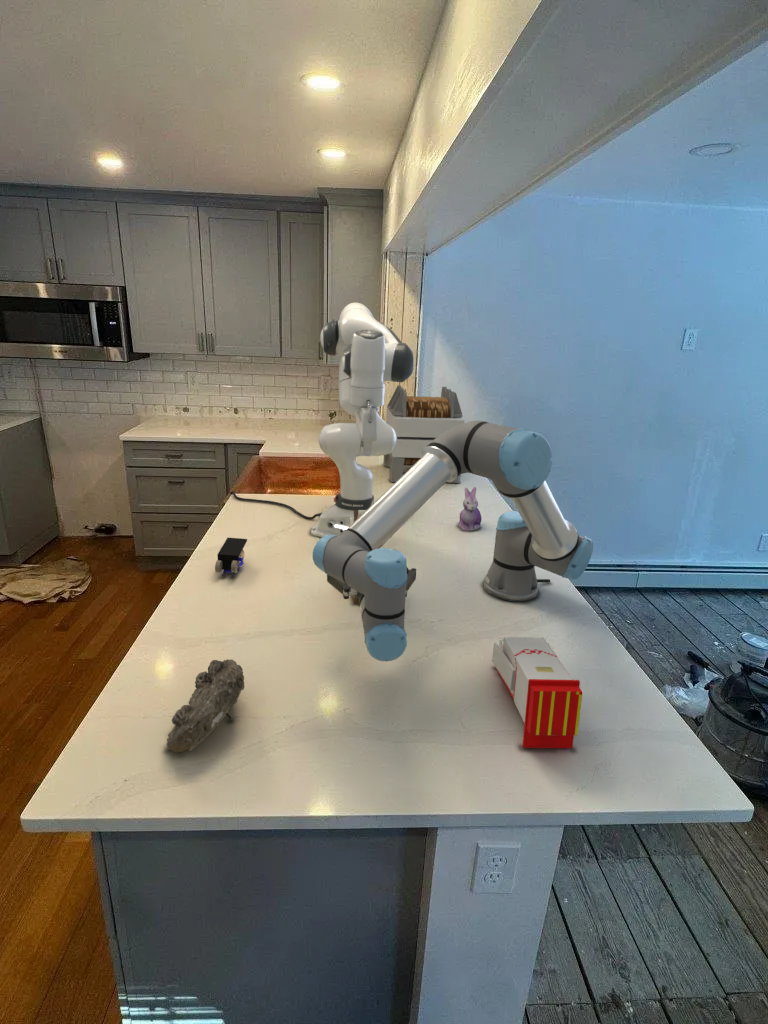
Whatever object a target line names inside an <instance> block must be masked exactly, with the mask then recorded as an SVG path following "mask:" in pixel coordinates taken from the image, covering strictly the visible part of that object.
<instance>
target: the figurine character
mask: <svg viewBox="0 0 768 1024" xmlns="http://www.w3.org/2000/svg"><path fill="white" fill-rule="evenodd" d="M247 542H248V538H240V537H226V539H225V541H224V543H223V544H222V546H221V547H220V549H219V551H218V552H217V560H216V562H215V564H214V572H215V573H221V577H222V578H224V577H225V576H226V574H227V573H230V574H231V573H232V574H231V578H234V577H235V575H236V573H237V572H239V571H240V567H242V566H243V565H244V564H245V562H244V558H245V551H244V547H245V546H246V544H247Z"/></svg>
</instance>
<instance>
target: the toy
mask: <svg viewBox="0 0 768 1024" xmlns="http://www.w3.org/2000/svg"><path fill="white" fill-rule="evenodd" d="M491 662H492V663H493V665H494V667H495V669H496V671H497V673H498V675H499V676H500V678H501V680H502V683H503V684H504V686H505V688H506V689H507V691H508V693H509V695H510V697H511V698H512V700H513V702H514V705H515V707H516V709H517V711H518V713H519V715H520V717H521V719H522V722H523V724H524V725H523V736H522V748H524V749H573V747H574V738H575V736H577V737H578V734H579V725H580V717H581V710H582V709H581V708H582V701H583V700H582V699H583V690H582V689H581V688H580V685H581V681H580V679H574V677H573V676H572V675H571V673H570V672H569V670H568V669H567V668H566V667H565V665H564V664H563V662H562V661H561V660H560V658H559V657H558V656H557V654H556V653H555V651H554V650H553V649H552V647H551V645H550V643H549V642H547V640H546V639H545V637H543V636H542V637H541V636H535V637H534V636H503V637H500V638H499V642H498V643H497V642H494V643H493V649H492V657H491Z"/></svg>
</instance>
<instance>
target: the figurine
mask: <svg viewBox="0 0 768 1024" xmlns="http://www.w3.org/2000/svg"><path fill="white" fill-rule="evenodd" d="M476 494H477V487H476V486H474V487H473V488H472V489H471V491H470V490H469V488H467V487H464V499H463V501H462V506H463V509H462V510H461V511H460V513H459V521H458V527H459V528H460V529H461V530H463V531H469V532H472V531H476V530H478V529H479V528H481V523H482V514H481V512H480V510H479V508H478V507H479V501H478V498H477V497H476Z"/></svg>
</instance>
